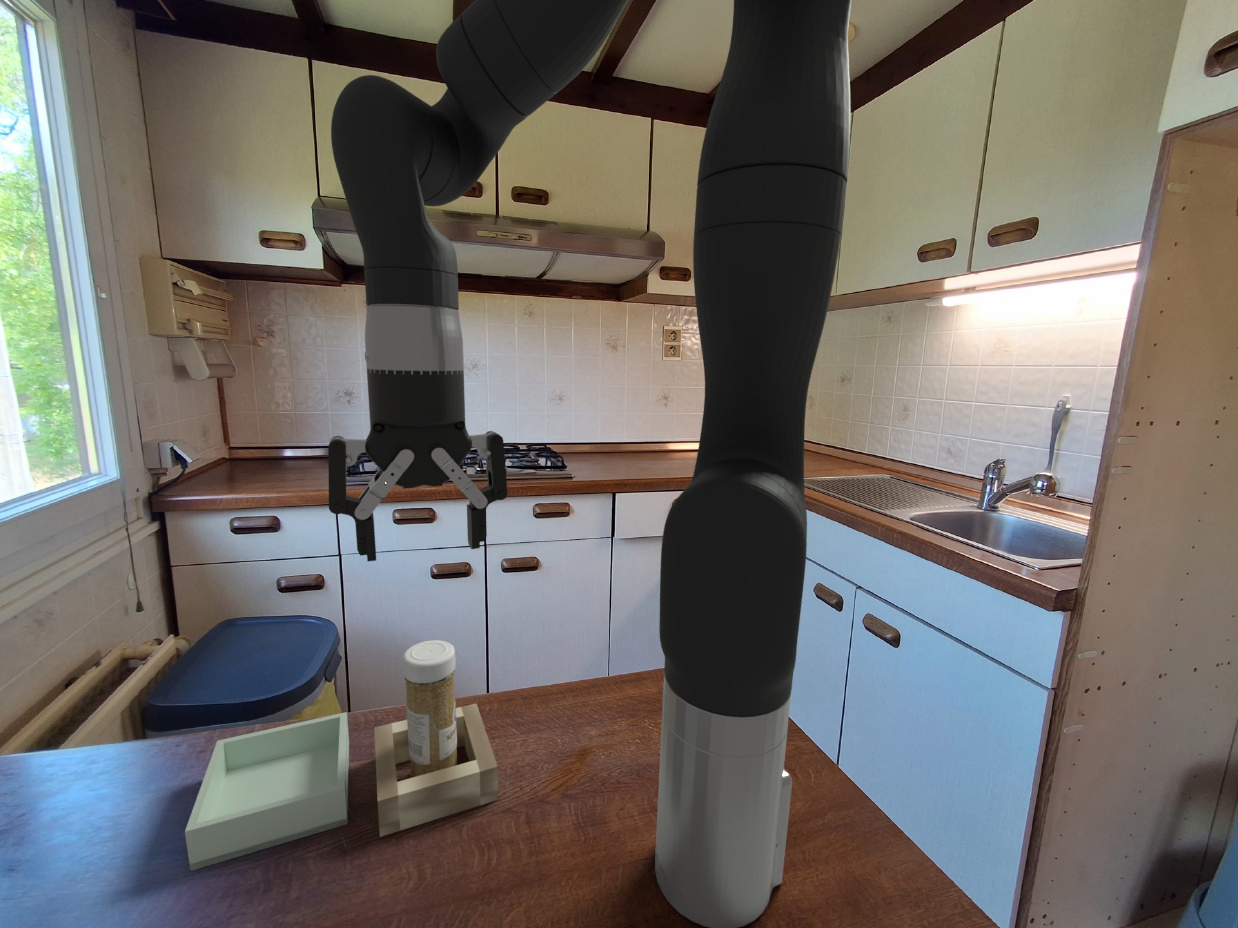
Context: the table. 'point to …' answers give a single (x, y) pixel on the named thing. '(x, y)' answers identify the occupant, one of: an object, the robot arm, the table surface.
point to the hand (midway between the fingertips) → (425, 552)
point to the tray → (270, 790)
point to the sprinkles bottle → (430, 706)
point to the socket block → (433, 776)
